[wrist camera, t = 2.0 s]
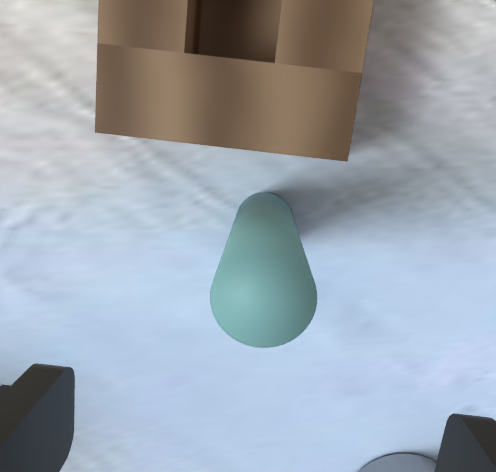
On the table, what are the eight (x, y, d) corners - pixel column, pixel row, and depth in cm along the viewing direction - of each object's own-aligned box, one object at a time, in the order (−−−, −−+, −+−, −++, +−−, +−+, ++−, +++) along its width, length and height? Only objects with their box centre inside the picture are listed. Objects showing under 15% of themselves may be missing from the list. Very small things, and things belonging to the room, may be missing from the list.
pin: (296, 195, 30) (324, 253, 16) (288, 250, 31) (308, 353, 17) (239, 189, 30) (215, 240, 16) (233, 244, 31) (205, 340, 17)
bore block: (367, -77, 26) (396, -137, 20) (331, 156, 29) (347, 161, 24) (139, -102, 26) (103, -168, 21) (128, 132, 30) (95, 132, 24)
